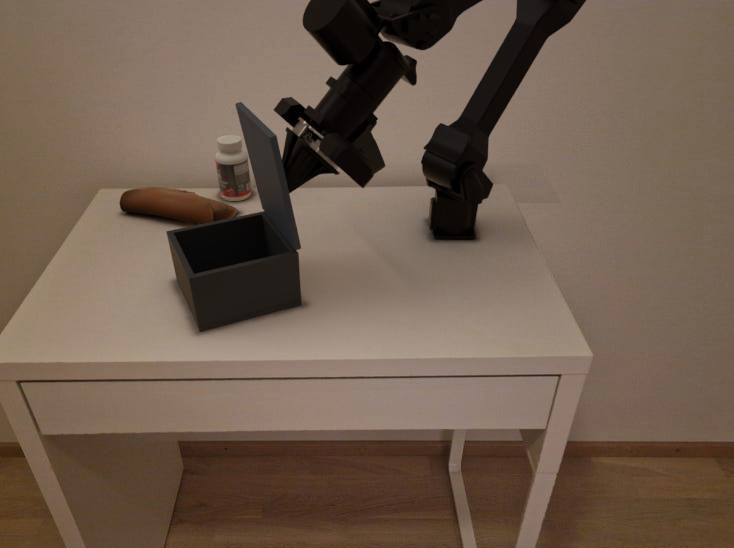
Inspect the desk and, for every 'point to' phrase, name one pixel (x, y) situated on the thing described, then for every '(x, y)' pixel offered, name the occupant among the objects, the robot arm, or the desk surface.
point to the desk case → (235, 269)
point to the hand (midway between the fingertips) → (278, 195)
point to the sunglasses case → (175, 205)
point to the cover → (269, 173)
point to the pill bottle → (232, 169)
